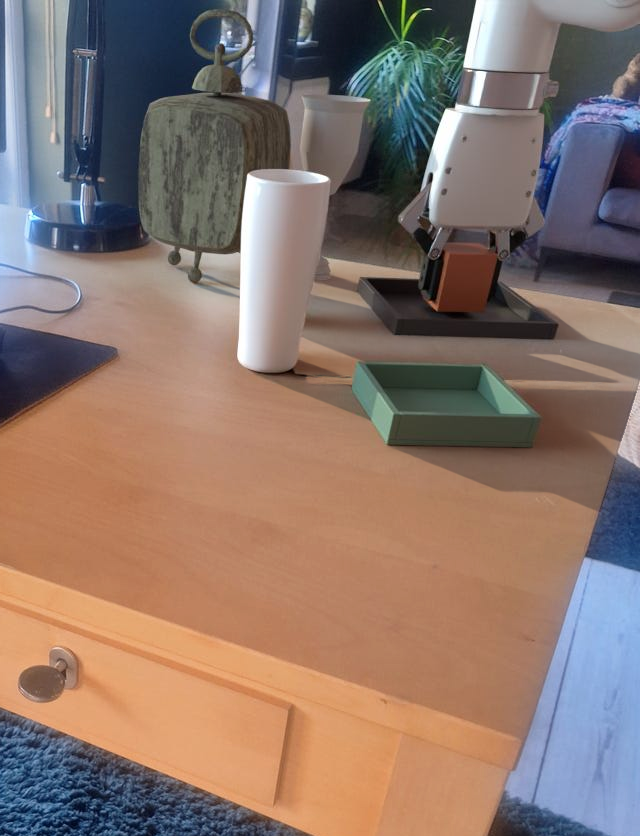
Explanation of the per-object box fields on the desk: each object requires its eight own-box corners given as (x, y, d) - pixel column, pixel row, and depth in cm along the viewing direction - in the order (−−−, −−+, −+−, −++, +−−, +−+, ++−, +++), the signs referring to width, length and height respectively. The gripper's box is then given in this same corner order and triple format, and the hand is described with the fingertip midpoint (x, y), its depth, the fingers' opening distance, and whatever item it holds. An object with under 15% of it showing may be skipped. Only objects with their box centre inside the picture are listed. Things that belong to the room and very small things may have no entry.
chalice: (291, 286, 99) (315, 100, 88) (271, 270, 104) (291, 93, 93) (351, 285, 100) (382, 102, 90) (328, 270, 106) (355, 95, 95)
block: (467, 298, 94) (480, 243, 91) (484, 312, 90) (498, 254, 87) (422, 298, 94) (433, 242, 90) (437, 311, 90) (449, 253, 86)
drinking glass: (261, 347, 81) (282, 166, 72) (320, 367, 78) (349, 179, 69) (212, 362, 77) (228, 172, 68) (271, 384, 74) (296, 187, 65)
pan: (496, 299, 99) (501, 281, 97) (553, 343, 86) (559, 323, 85) (356, 294, 97) (359, 276, 96) (393, 338, 85) (397, 318, 84)
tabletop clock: (276, 282, 100) (308, 14, 85) (240, 299, 94) (268, 13, 79) (167, 260, 106) (180, 5, 91) (127, 275, 99) (133, 4, 84)
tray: (479, 392, 74) (487, 364, 73) (532, 447, 66) (542, 417, 64) (351, 389, 74) (356, 360, 72) (386, 445, 65) (393, 414, 63)
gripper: (571, 93, 84) (519, 289, 95) (398, 87, 83) (365, 286, 94) (607, 100, 78) (547, 309, 89) (422, 95, 77) (384, 307, 88)
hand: (454, 295), depth 91 cm, fingers closed on block, 5 cm apart
